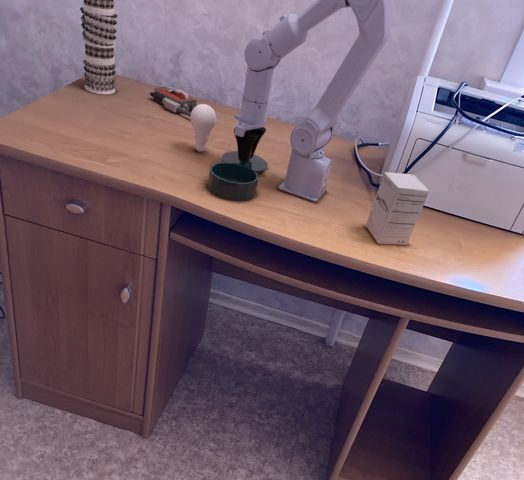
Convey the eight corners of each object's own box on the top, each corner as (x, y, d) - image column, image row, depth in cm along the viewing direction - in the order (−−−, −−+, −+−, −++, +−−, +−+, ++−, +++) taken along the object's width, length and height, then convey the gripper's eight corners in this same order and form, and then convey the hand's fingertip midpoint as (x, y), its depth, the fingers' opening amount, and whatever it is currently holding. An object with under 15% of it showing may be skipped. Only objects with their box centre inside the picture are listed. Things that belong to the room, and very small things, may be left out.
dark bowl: (262, 189, 119) (265, 172, 116) (244, 206, 111) (247, 188, 109) (220, 174, 121) (222, 157, 118) (199, 190, 113) (201, 172, 110)
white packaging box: (364, 226, 115) (383, 170, 106) (394, 228, 117) (415, 173, 109) (376, 244, 109) (397, 187, 101) (407, 245, 112) (431, 190, 103)
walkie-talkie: (143, 99, 150) (195, 124, 142) (144, 82, 147) (197, 107, 140) (165, 96, 156) (216, 119, 148) (166, 80, 153) (218, 103, 146)
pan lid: (273, 165, 130) (277, 146, 127) (256, 179, 122) (260, 160, 118) (232, 151, 132) (235, 132, 129) (213, 164, 123) (215, 144, 120)
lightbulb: (183, 152, 127) (187, 104, 120) (192, 144, 131) (196, 98, 124) (207, 158, 126) (213, 111, 119) (215, 150, 131) (221, 104, 124)
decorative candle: (110, 97, 146) (110, -9, 130) (77, 89, 145) (73, -18, 129) (121, 88, 153) (122, -13, 137) (89, 81, 152) (87, -22, 136)
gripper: (251, 88, 123) (242, 145, 132) (225, 100, 112) (217, 162, 121) (279, 96, 122) (267, 154, 131) (255, 110, 111) (245, 172, 120)
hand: (245, 158), depth 126 cm, fingers closed on pan lid, 2 cm apart
